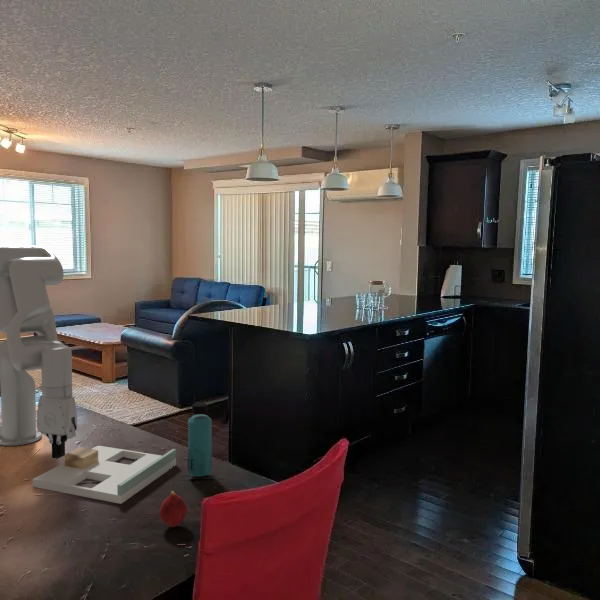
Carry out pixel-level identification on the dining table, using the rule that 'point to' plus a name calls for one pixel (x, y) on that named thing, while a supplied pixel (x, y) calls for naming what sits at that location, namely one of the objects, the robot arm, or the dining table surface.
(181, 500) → the onion
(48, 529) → the dining table surface
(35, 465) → the dining table surface
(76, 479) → the board
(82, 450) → the block
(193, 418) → the beverage bottle
